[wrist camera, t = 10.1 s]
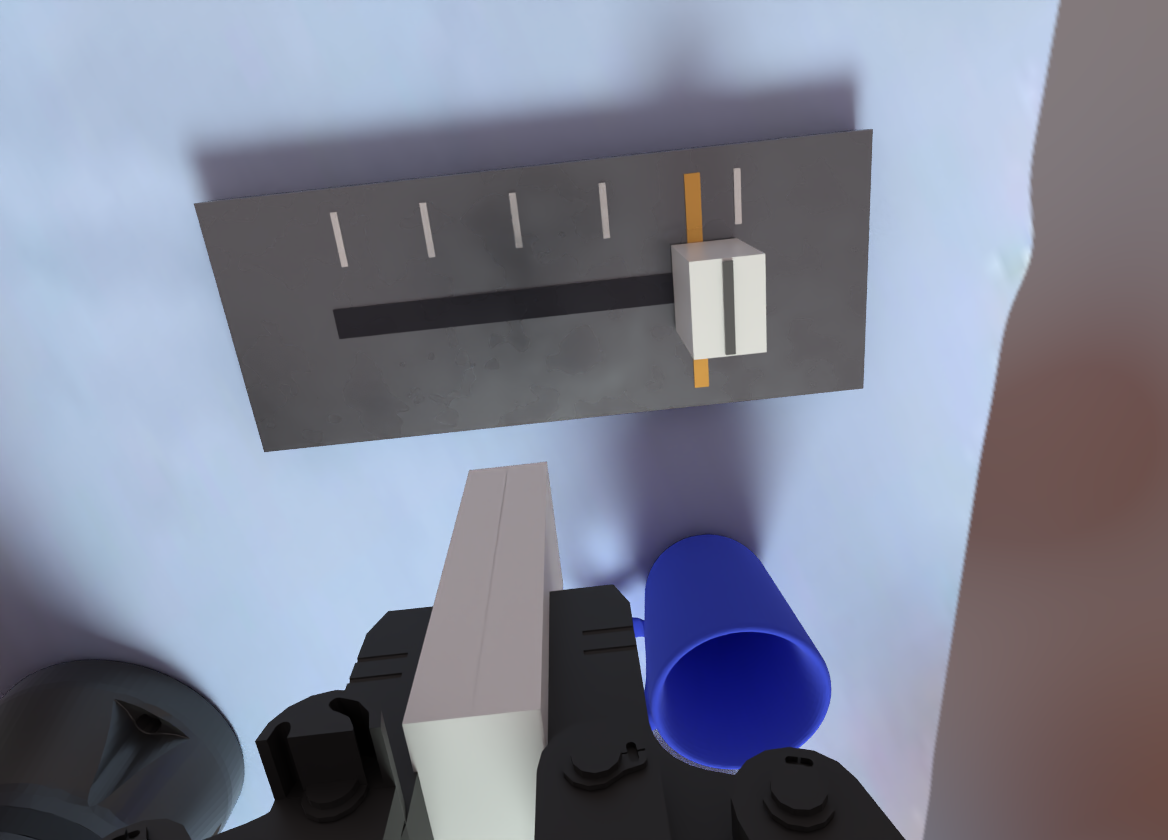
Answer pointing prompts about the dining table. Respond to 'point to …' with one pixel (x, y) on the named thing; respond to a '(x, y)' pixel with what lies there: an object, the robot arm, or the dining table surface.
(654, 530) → the dining table surface
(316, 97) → the dining table surface
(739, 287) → the block
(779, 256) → the console
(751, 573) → the mug
